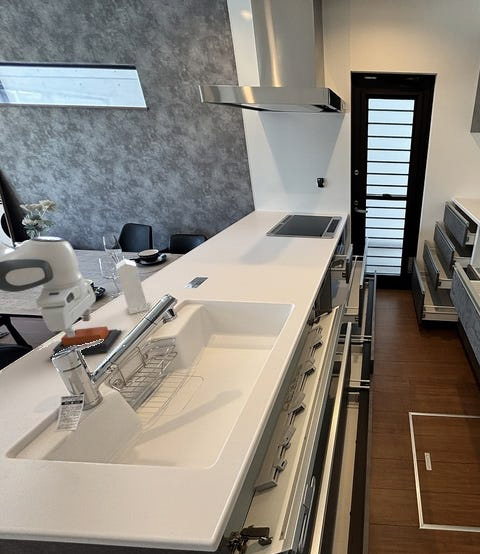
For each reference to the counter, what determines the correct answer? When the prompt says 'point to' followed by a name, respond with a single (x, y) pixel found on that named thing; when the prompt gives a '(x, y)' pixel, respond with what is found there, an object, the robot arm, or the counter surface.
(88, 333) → the top pad
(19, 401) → the counter surface
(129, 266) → the milk
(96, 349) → the base pad
